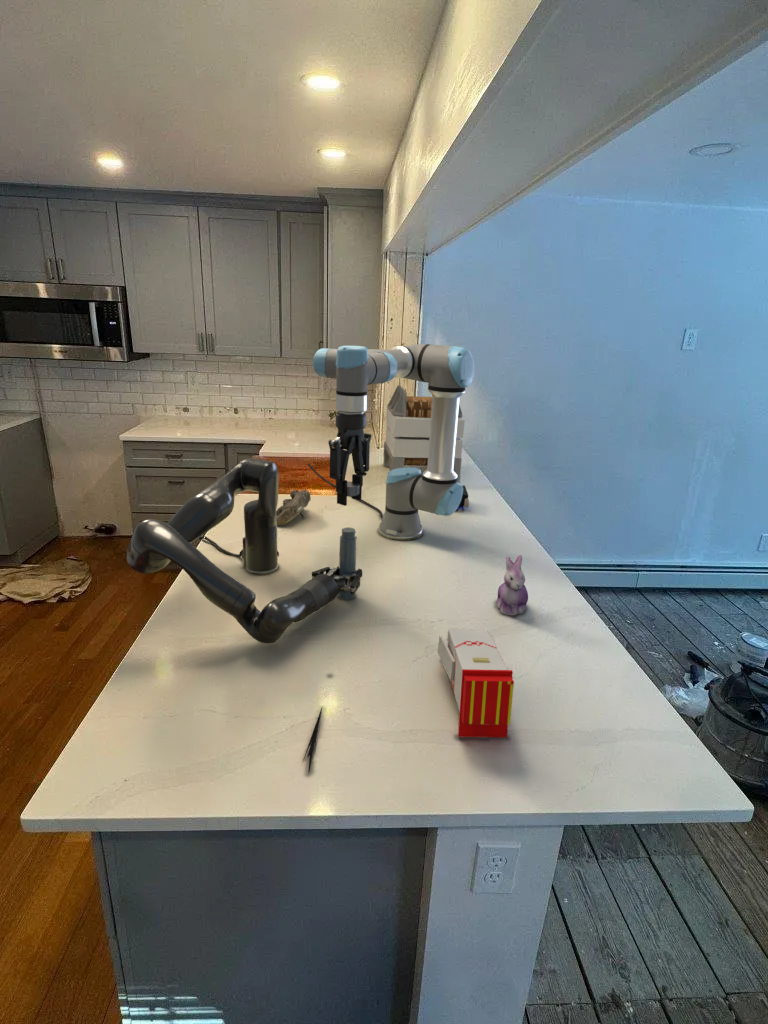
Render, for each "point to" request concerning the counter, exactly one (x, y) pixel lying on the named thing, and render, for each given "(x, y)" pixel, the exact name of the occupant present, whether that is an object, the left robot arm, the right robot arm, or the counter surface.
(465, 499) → the figurine character
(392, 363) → the right robot arm
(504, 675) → the toy
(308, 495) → the fossil
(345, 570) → the bottle
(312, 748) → the feather
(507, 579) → the figurine
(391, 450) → the white wooden crate
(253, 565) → the left robot arm
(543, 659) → the counter surface
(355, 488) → the lid
